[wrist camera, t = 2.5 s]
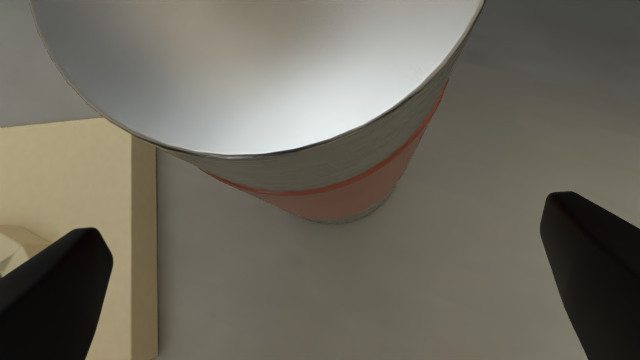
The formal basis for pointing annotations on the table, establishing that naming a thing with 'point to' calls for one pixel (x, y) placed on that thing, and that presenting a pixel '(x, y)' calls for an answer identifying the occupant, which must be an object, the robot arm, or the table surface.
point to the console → (87, 217)
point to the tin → (268, 87)
